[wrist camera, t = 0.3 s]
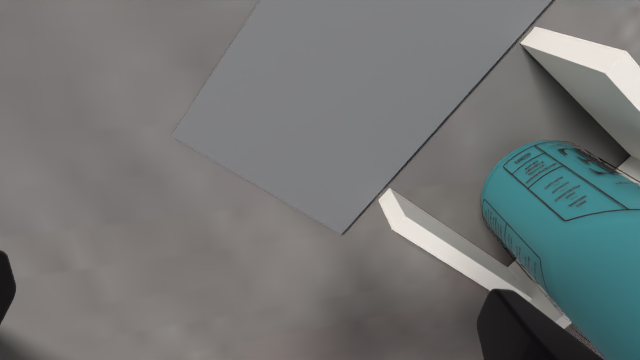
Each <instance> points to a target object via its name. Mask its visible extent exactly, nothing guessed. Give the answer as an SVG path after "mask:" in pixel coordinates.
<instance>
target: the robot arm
mask: <svg viewBox="0 0 640 360" xmlns="http://www.w3.org/2000/svg"><path fill="white" fill-rule="evenodd" d="M15 292H16V283H15V280H14V276H13V273H12V269H11V266H10V262H9V259H8V256H7V254H6V253H5V252H3V251H1V250H0V324H1V322H2V320H3V318H4V316H5V315H6V313H7V311H8V309H9V307H10V305H11V303H12V301H13V299H14V296H15ZM477 330H478V335H479V339H480V343H481V348H482V352H483V356H484V360H604V359H602V358H601V357H600V356H598V355H597V354H596V353H594V352H593V351H592V350H591V349H589V348H588V347H587V346H585V345H584V344H583V343H582V342H580V341H579V340H578V339H576V338H575V337H574V336H572V335H571V334H570V333H569V332H567V331H566V330H565V329H563V328H562V327H561V326H559V325H558V324H557V323H556V322H554V321H553V320H552V319H550V318H549V317H548V316H547V315H545V314H544V313H543V312H541V311H540V310H539V309H537V308H536V307H535V306H534V305H532V304H531V303H530V302H528V301H527V300H526V299H524V298H523V297H522V296H521V295H519V294H518V293H517V292H515V291H513V290H510V289H498V288H495V289H492V290H491V291H489V293H488V295H487V297H486V300H485V302H484V304H483V307H482V309H481V311H480V313H479V316H478V319H477Z"/></svg>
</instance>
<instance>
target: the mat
mask: <svg viewBox="0 0 640 360" xmlns="http://www.w3.org/2000/svg"><path fill="white" fill-rule="evenodd" d="M551 1H552V0H260V1H259V3H258V4H257V6H256V7H255V9H254V10H253V12H252V13H251V15H250V16H249V18H248V19H247V21H246V22H245V24H244V26H243V27H242V29H241V30H240V32H239V33H238V35H237V36H236V38H235V39H234V41H233V42H232V44H231V45H230V47H229V48H228V50H227V51H226V53H225V54H224V56H223V57H222V59H221V61H220V62H219V64H218V65H217V67H216V68H215V70H214V71H213V73H212V74H211V76H210V77H209V79H208V80H207V82H206V83H205V85H204V86H203V88H202V89H201V91H200V92H199V94H198V96H197V97H196V99H195V100H194V102H193V103H192V105H191V106H190V108H189V109H188V111H187V112H186V114H185V115H184V117H183V118H182V120H181V121H180V123H179V124H178V126H177V127H176V129H175V131H174V132H173V134H172V137H174V138H175V139H177V140H179V141H180V142H182V143H184V144H186V145H187V146H189V147H191V148H192V149H194V150H196V151H198V152H199V153H201V154H203V155H204V156H206V157H208V158H210V159H211V160H213V161H215V162H217V163H218V164H220V165H222V166H223V167H225V168H227V169H229V170H230V171H232V172H234V173H235V174H237V175H239V176H241V177H242V178H244V179H246V180H247V181H249V182H251V183H253V184H254V185H256V186H258V187H259V188H261V189H263V190H265V191H266V192H268V193H270V194H272V195H273V196H275V197H277V198H278V199H280V200H282V201H284V202H285V203H287V204H289V205H290V206H292V207H294V208H296V209H297V210H299V211H301V212H302V213H304V214H306V215H308V216H309V217H311V218H313V219H314V220H316V221H318V222H320V223H321V224H323V225H325V226H327V227H328V228H330V229H332V230H333V231H335V232H337V233H339V234H340V235H341V234H342V233H343V232H344V231H345V230H346V229H347V228H348V227H349V225H350V224H351V223H352V222H353V221H354V220H355V219H356V218H357V216H358V215H359V214H360V213H361V212H362V211H363V210H364V209H365V208H366V206H367V205H368V204H369V203H370V202H371V201H372V200H373V199H374V198H375V196H376V195H377V194H378V193H379V192H380V191H381V190H382V189H383V188H384V186H385V185H386V184H387V183H388V182H389V181H390V180H391V179H392V178H393V176H394V175H395V174H396V173H397V172H398V171H399V170H400V169H401V168H402V166H403V165H404V164H405V163H406V162H407V161H408V160H409V159H410V158H411V156H412V155H413V154H414V153H415V152H416V151H417V150H418V149H419V148H420V146H421V145H422V144H423V143H424V142H425V141H426V140H427V139H428V137H429V136H430V135H431V134H432V133H433V132H434V131H435V130H436V129H437V127H438V126H439V125H440V124H441V123H442V122H443V121H444V120H445V119H446V117H447V116H448V115H449V114H450V113H451V112H452V111H453V110H454V109H455V107H456V106H457V105H458V104H459V103H460V102H461V101H462V100H463V99H464V97H465V96H466V95H467V94H468V93H469V92H470V91H471V90H472V89H473V87H474V86H475V85H476V84H477V83H478V82H479V81H480V80H481V79H482V77H483V76H484V75H485V74H486V73H487V72H488V71H489V70H490V69H491V67H492V66H493V65H494V64H495V63H496V62H497V61H498V60H499V59H500V57H501V56H502V55H503V54H504V53H505V52H506V51H507V50H508V48H509V47H510V46H511V45H512V44H513V43H514V42H515V41H516V40H517V38H518V37H519V36H520V35H521V34H522V33H523V32H524V31H525V30H526V28H527V27H528V26H529V25H530V24H531V23H532V22H533V21H534V20H535V18H536V17H537V16H538V15H539V14H540V13H541V12H542V11H543V10H544V8H545V7H546V6H547V5H548V4H549V3H550V2H551Z"/></svg>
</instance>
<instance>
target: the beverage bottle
mask: <svg viewBox="0 0 640 360" xmlns="http://www.w3.org/2000/svg"><path fill="white" fill-rule="evenodd" d="M563 142H566V141H563ZM563 142H558V141H536V142H532V143H529V144H526V145H523V146H521V147H519V148H517V149H515V150H514V151H512V152H510V153H509V154H508V155H506V156H505V157H504V158H503V159H502V160H500V161H499V162H498V164H497V165H496V166H495V167H494V168H493V169H492V171H491V172H490V174H489V175H488V177H487V179H486V181H485V183H484V186H483V189H482V194H481V207H482V215H483V214H484V217H485V220H486V222H487V224H488V225H489V227H490V228H491V229H492V231H494V233H495V234H496V235H497V237H499V238H500V239H501V241H502V242H503V243H504V244H505V246H506V248H505V247H504V246H503V247H504V249H505V250H506V251H507V252H508V249H509V250H510V251H511V252H512V254H514V256H515V257H516V258H517V259H518V260H519V261H520V263H521V264H522V265H521V264H519V263H518V262H517V261H516V260H515V259H514V257H513V256H512V255H511V254H510V253H509V252H508V253H509V254H510V256H511V257H512V258H513V259H514V260H515V261H516V263H517V264H518V265H519V266H520V265H521V266H523V267H524V268H525V269H526V270H527V271H528V272H529V273H530V274H531V275H532V277H533V278H534V279H535V281H536V282H535V281H533V280H532V279H531V277H530V276H529V275H528V274H527V273H526V272H525V270H524V269H523V268H522V267H521V266H520V267H521V269H522V270H523V271H524V272H525V273H526V274H527V276H528V277H529V278H530V279H531V280H532V281H533V282H534V283H537V282H538V283H537V284H539V285H540V286H541V287H542V288H543V289H544V290H545V292H546V293H547V294H548V295H549V297H550V299H552V300H553V301H552V302H554V303H556V304H557V305H558V307H559V308H560V309H561V310H562V312H564V314H565V316H566V317H568V318H569V319H570V320H571V322H572V323H573V324H574V325H575V326H576V327H577V328H578V329H579V331H580V332H581V333H582V334H583V335H584V336H585V337H586V338H587V339H588V340H589V342H590V343H592V344H593V345H594V347H595V348H596V349H597V350H598V351H599V352H600V354H601V355H602V356H603V357H604V358H605V359H606V360H640V186H639V184H636V183H634V182H633V181H631V180H629V179H628V178H626V177H624V176H623V175H621V173H619V172H617V171H615V170H613V169H612V168H610V167H608V166H607V165H605V164H604V163H603V162H600V161H598V160H597V159H596V158H595V157H594V158H593V157H591V155H590V154H591V153H590V152H588V151H587V152H588V153H590V154H589V155H588V154H586V153H585V152H583V151H581V150H582V149H577V148H575V147H574V146H576V145H574V146H573V145H572V144H570V145H569V144H567V143H563ZM573 144H574V143H573ZM576 147H579V146H576ZM580 148H581V147H580ZM592 155H593V154H592ZM593 156H594V155H593ZM598 158H599V157H598ZM599 159H600V158H599ZM600 160H602V159H600ZM602 161H604V160H602ZM604 162H605V163H607V162H606V161H604ZM607 164H609V163H607ZM609 165H611V164H609ZM611 166H612V165H611ZM612 167H614V166H612ZM614 168H616V167H614ZM616 169H617V170H619V169H618V168H616ZM619 171H621V170H619ZM621 172H622V173H624V172H623V171H621ZM624 174H626V173H624ZM626 175H628V174H626ZM628 176H629V177H631V176H630V175H628ZM631 178H633V177H631ZM633 179H634V180H636V179H635V178H633ZM636 181H638V180H636ZM638 182H639V183H640V181H638ZM483 219H484V218H483ZM485 225H486V224H485ZM486 227H487V226H486ZM487 228H488V227H487ZM488 229H489V228H488ZM492 234H493V233H492ZM493 235H494V234H493ZM494 236H495V235H494ZM497 239H498V238H497ZM500 239H499V240H500ZM499 240H498V241H499ZM499 242H500V241H499ZM500 243H501V242H500ZM504 244H503V245H504ZM507 248H508V249H507ZM538 288H539V287H538ZM539 289H540V288H539ZM540 291H541V289H540ZM541 292H542V291H541ZM542 293H543V292H542ZM544 295H545V294H544ZM548 295H547V296H548ZM547 296H546V295H545V297H547ZM548 299H549V298H548ZM550 302H551V301H550ZM552 302H551V303H552ZM554 303H552V304H554ZM554 307H555V305H554ZM556 309H557V307H556ZM561 310H560V311H561ZM558 312H559V311H558ZM561 314H562V313H561ZM562 315H563V314H562ZM565 319H566V318H565ZM566 320H567V319H566ZM570 320H569V321H570ZM576 332H577V331H576ZM577 333H578V332H577ZM578 334H579V333H578ZM581 336H582V335H581ZM582 337H583V336H582ZM583 338H584V337H583ZM586 338H585V339H586ZM587 339H586V340H587Z"/></svg>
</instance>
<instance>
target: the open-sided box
mask: <svg viewBox="0 0 640 360" xmlns="http://www.w3.org/2000/svg"><path fill="white" fill-rule="evenodd" d="M520 44H521V45H522V46H523V47H524V48H525V49H526V50H527V51H528V52H529V53H530V54H531V55H532V56H533V57H534V58H535V59H536V60H537V61H538V62H539V63H540V64H541V65H542V66H543V67H544V68H545V69H546V70H547V71H548V72H549V73H550V74H551V75H552V76H553V77H554V78H555V79H556V80H557V81H558V82H559V83H560V84H561V85H562V86H563V87H564V88H565V89H566V90H567V91H568V92H569V93H570V95H571V96H572V97H573V98H574V99H575V100H576V101H577V102H578V103H579V104H580V105H581V106H582V107H583V108H584V109H585V110H586V111H587V112H588V113H589V114H590V115H591V116H592V117H593V118H594V119H595V120H596V121H597V122H598V123H599V124H600V125H601V126H602V127H603V128H604V129H605V130H606V131H607V132H608V133H609V134H610V135H611V136H612V137H613V138H614V139H615V140H616V141H617V142H618V143H619V144H620V145H621V146H622V147H623V148H624V149H625V150H626V151H627V152H628V153H629V154H630V155H631V156H630V157H629V158H628V159H627V160H626V161H625V162H623V163H622V164H621V165H620V166H619V167H618V169H619V170H621V171H623V172H624V173H626V174H628V175H630V176H631V177H633V178H635V179H636V180H638V181H640V67H639V66H638V64H637V63H636V62H635V61H634V60H633V58H632V57H631V56H630V55H629V54H628V53H627V51H623V50H620V49H616V48H612V47H608V46H605V45H601V44H597V43H594V42H590V41H586V40H583V39H579V38H575V37H571V36H568V35H564V34H560V33H557V32H553V31H549V30H546V29H542V28H538V27H535V28H534V29H533V30H532V31H531V32H530V33H529V34H528V35H527V36H526V38H525V39H524V40H523V41H522V42H521V43H520ZM619 170H617V169H616V170H615V171H617V172H619V173H621V175H623V176H624V177H626V178H628V179H629V180H631V181H633V182H634V183H636V184H639V186H640V183H639V182H638V181H636V180H634V179H633V178H631V177H629V176H628V175H626V174H624V173H622V172H621V171H619ZM378 201H379V203H380V205H381V207H382V209H383V211H384V213H385V215H386V217H387V219H388V221H389V223H390V226H391V228H392V230H394V231H395V232H397V233H399V234H400V235H402V236H403V237H405V238H407V239H408V240H410V241H411V242H413V243H415V244H416V245H418V246H419V247H421V248H423V249H424V250H426V251H427V252H429V253H431V254H432V255H434V256H435V257H437V258H439V259H440V260H442V261H443V262H445V263H447V264H448V265H450V266H451V267H453V268H455V269H456V270H458V271H459V272H461V273H463V274H464V275H466V276H467V277H469V278H471V279H472V280H474V281H475V282H477V283H479V284H480V285H482V286H483V287H485V288H487V289H488V290H490V291H491V290H492V289H495V288H498V289H510V290H513V291H515V292H517V293H518V294H519V295H521V296H522V297H523V298H524V299H526V300H527V301H528V302H530V303H531V304H532V305H534V306H535V307H536V308H537V309H539V310H540V311H541V312H543V313H544V314H545V315H547V316H548V317H549V318H550V319H552V320H553V321H554V322H556V323H557V324H558V325H559V326H561V327H562V328H563V329H565V328H566V327H567V326H568V325H570V324H571V323H572V322H571V320H570V319H569V318H568V317H566V316H565V314H564V312H562V310H561V309H560V308H559V307H558V305H557V304H556V303H554V302H552V301H553V300H552V299H550V297H549V295H548V294H547V293H546V292H545V290H544V289H543V288H542V287H541V286H540V285H539V284H537V283H538V282H537V283H534V282H533V281H535V279H534V278H533V277H532V275H531V274H530V273H529V272H528V271H527V270H526V269H525V268H524V267H523V266H521V265H522V264H521V263H520V261H519V260H518V259H516V261H517V262H518V263H519V264H521V265H520V266H521V267H522V268H523V269H524V270H525V272H526V273H527V274H528V275H529V276H530V277H531V279H532V280H533V281H532V280H531V279H530V278H529V277H528V276H527V274H526V273H525V272H524V271H523V270H522V269H521V267H520V266H519V265H518V264H517V263H516V261H514V262H513V263H512V264H511V265H509V266H508V267H506V266H505V265H503V264H502V263H500V262H499V261H497V260H496V259H494V258H493V257H491V256H490V255H489V254H487V253H486V252H484V251H483V250H481V249H480V248H478V247H477V246H475V245H474V244H472V243H471V242H469V241H468V240H466V239H465V238H463V237H462V236H460V235H459V234H457V233H456V232H454V231H453V230H451V229H450V228H448V227H447V226H446V225H444V224H443V223H441V222H440V221H438V220H437V219H435V218H434V217H432V216H431V215H429V214H428V213H426V212H425V211H423V210H422V209H420V208H419V207H417V206H416V205H414V204H413V203H411V202H410V201H408V200H407V199H405V198H404V197H403V196H401V195H400V194H398V193H397V192H395V191H394V190H392V189H391V188H389V189H388V190H387V191H386V192H385V193H384V194H383V196H382V197H381V198H380V199H379V200H378ZM535 282H536V281H535ZM538 287H539V288H540V289H541V291H542V292H543V293H542V292H541V291H540V289H539V288H538ZM544 294H545V295H546V296H547V295H548V296H547V297H545V295H544ZM548 298H549V299H548ZM550 301H551V302H552V303H554V304H552V303H551V302H550ZM554 305H555V307H554ZM556 307H557V309H556ZM560 310H561V311H560ZM558 311H559V312H558ZM561 313H562V314H563V315H562V314H561ZM565 318H566V319H567V320H566V319H565ZM569 320H570V321H569Z"/></svg>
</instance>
